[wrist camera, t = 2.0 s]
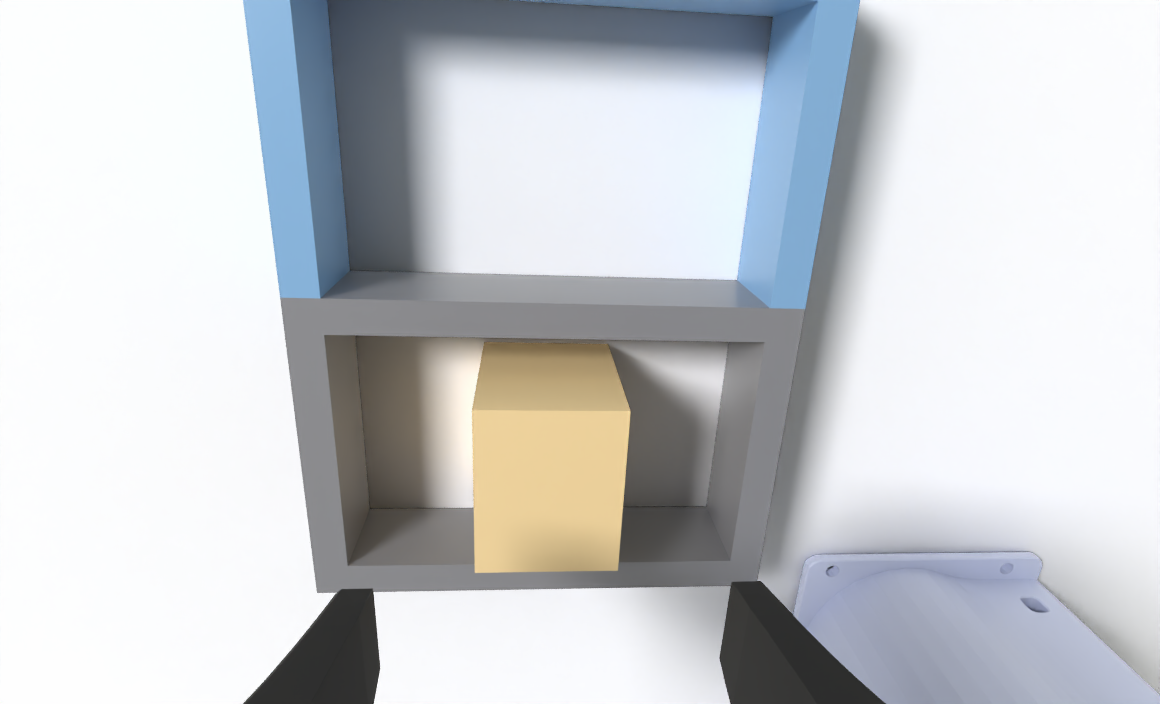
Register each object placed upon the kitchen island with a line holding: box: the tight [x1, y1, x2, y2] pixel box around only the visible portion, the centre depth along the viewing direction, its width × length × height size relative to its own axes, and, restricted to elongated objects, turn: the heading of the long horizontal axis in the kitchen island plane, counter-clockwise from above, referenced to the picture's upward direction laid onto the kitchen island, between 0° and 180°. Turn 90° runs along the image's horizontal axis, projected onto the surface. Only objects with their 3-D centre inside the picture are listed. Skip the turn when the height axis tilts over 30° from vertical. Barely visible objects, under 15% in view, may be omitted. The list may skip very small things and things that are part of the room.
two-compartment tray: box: [243, 0, 860, 593], centre depth 19 cm, size 14×18×3 cm
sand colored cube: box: [472, 342, 631, 573], centre depth 19 cm, size 4×5×5 cm
